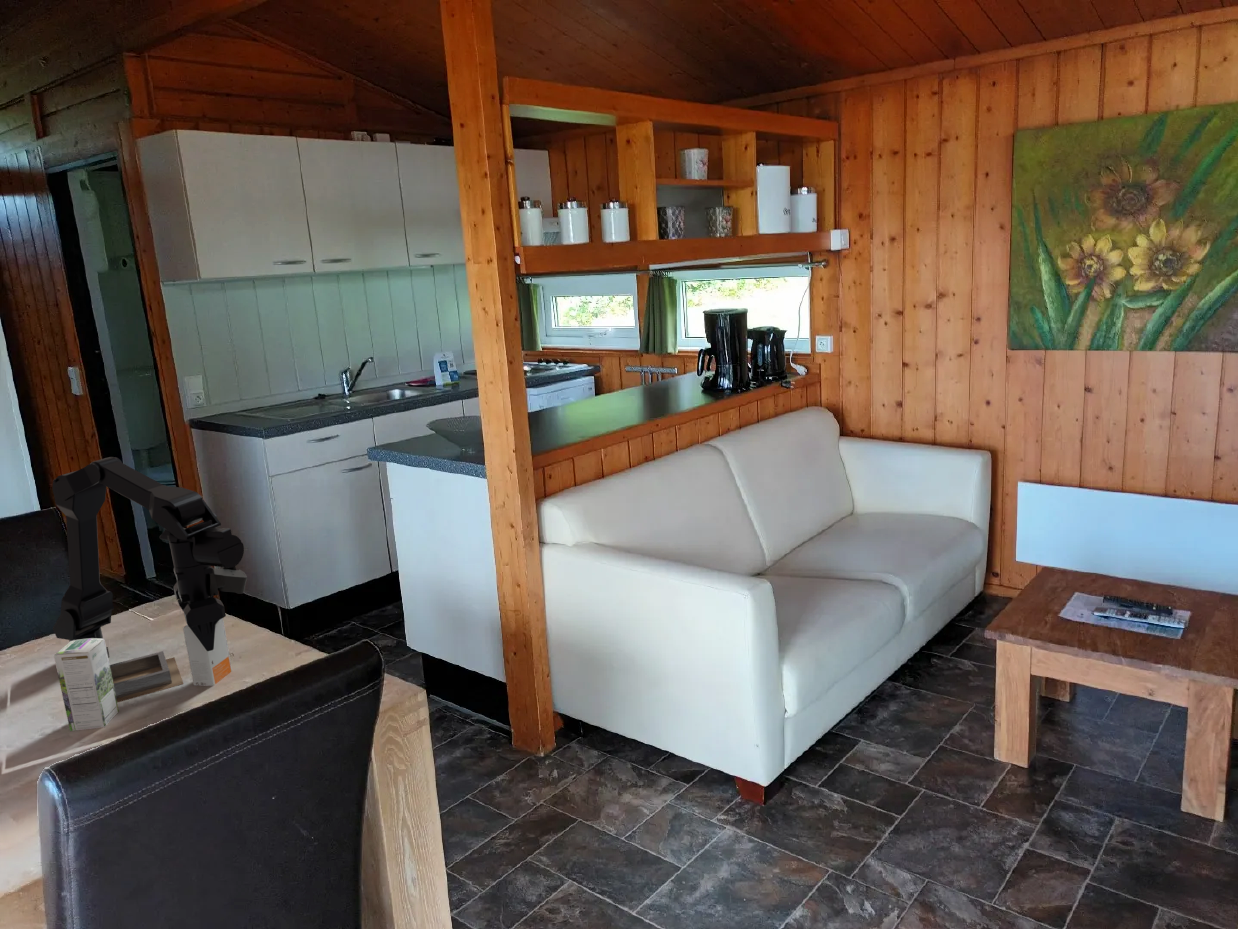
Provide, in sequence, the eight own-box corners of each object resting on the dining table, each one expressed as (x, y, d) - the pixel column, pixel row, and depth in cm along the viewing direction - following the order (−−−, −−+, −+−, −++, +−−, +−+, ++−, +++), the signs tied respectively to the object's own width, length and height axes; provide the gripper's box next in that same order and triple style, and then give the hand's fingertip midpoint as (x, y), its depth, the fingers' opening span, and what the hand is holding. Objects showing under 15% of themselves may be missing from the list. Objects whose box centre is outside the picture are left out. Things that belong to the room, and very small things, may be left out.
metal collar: (104, 679, 172) (101, 667, 172) (165, 663, 177) (163, 651, 177) (107, 701, 163) (104, 688, 163) (172, 683, 169) (169, 670, 168)
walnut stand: (93, 681, 173) (93, 678, 173) (174, 660, 180) (174, 657, 180) (97, 711, 161) (97, 708, 161) (184, 686, 168) (183, 683, 168)
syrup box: (86, 717, 159) (68, 639, 156) (121, 713, 160) (104, 636, 156) (70, 734, 154) (51, 654, 150) (106, 730, 154) (88, 651, 151)
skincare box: (214, 689, 166) (202, 627, 164) (193, 688, 167) (181, 627, 164) (234, 673, 172) (223, 614, 169) (214, 672, 173) (202, 613, 170)
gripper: (248, 565, 160) (263, 647, 164) (230, 539, 176) (243, 615, 180) (179, 581, 155) (195, 666, 159) (166, 553, 170) (182, 631, 174)
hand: (206, 643), depth 168 cm, fingers open, 8 cm apart
